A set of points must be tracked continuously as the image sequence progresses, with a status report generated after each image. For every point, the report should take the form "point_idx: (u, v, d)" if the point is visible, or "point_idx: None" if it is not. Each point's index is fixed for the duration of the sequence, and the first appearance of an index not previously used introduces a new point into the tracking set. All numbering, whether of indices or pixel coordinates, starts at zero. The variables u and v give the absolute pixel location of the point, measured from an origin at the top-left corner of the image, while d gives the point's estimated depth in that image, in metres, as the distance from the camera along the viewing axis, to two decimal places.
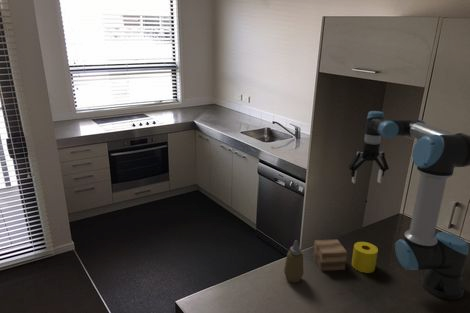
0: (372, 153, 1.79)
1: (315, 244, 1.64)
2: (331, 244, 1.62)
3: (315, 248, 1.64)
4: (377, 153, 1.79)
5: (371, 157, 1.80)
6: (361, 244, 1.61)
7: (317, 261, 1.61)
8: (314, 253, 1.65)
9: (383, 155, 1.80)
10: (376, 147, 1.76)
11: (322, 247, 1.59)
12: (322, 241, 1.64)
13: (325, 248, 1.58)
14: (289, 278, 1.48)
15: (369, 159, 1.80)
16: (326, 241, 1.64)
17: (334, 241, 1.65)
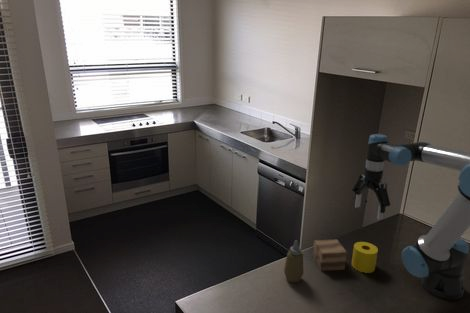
0: (371, 181, 1.60)
1: (315, 244, 1.64)
2: (330, 245, 1.62)
3: (315, 248, 1.64)
4: (376, 182, 1.58)
5: (370, 185, 1.61)
6: (361, 244, 1.61)
7: (317, 261, 1.62)
8: (314, 253, 1.66)
9: (381, 187, 1.56)
10: (369, 173, 1.58)
11: (322, 247, 1.59)
12: (322, 241, 1.65)
13: (325, 248, 1.59)
14: (289, 278, 1.48)
15: (369, 186, 1.62)
16: (325, 241, 1.64)
17: (333, 241, 1.65)
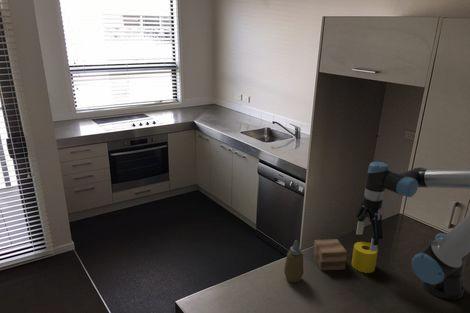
0: (369, 210, 1.53)
1: (315, 244, 1.64)
2: (331, 244, 1.62)
3: (315, 248, 1.64)
4: (372, 212, 1.51)
5: None
6: (361, 244, 1.61)
7: (317, 261, 1.62)
8: (314, 253, 1.66)
9: (375, 218, 1.48)
10: (365, 202, 1.51)
11: (322, 247, 1.60)
12: (322, 241, 1.65)
13: (325, 248, 1.59)
14: (289, 278, 1.48)
15: (367, 215, 1.55)
16: (325, 241, 1.65)
17: (334, 241, 1.65)
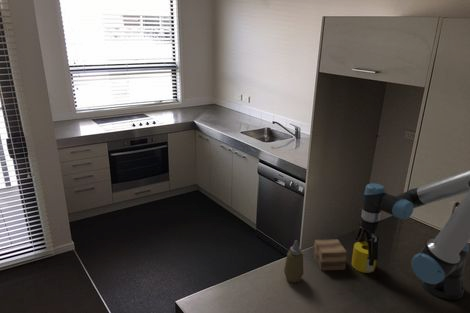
0: (366, 230, 1.56)
1: (315, 244, 1.64)
2: (331, 244, 1.62)
3: (315, 248, 1.65)
4: (369, 233, 1.53)
5: None
6: (361, 244, 1.61)
7: (317, 261, 1.62)
8: (315, 253, 1.66)
9: (372, 240, 1.51)
10: (362, 223, 1.54)
11: (322, 247, 1.60)
12: (322, 241, 1.65)
13: (325, 248, 1.59)
14: (289, 278, 1.48)
15: (364, 235, 1.58)
16: (326, 241, 1.65)
17: (334, 241, 1.65)
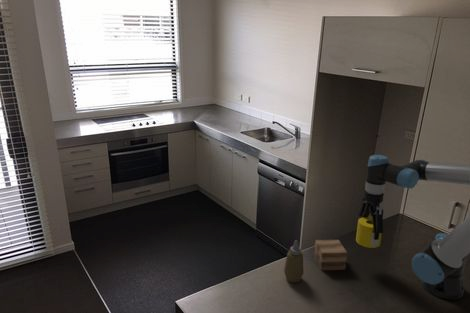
0: (370, 204, 1.52)
1: (316, 244, 1.64)
2: (331, 245, 1.62)
3: (316, 248, 1.64)
4: (373, 206, 1.49)
5: None
6: (365, 219, 1.57)
7: (318, 261, 1.62)
8: (315, 253, 1.66)
9: (376, 213, 1.47)
10: (366, 196, 1.50)
11: (322, 247, 1.59)
12: (323, 241, 1.65)
13: (326, 248, 1.59)
14: (289, 278, 1.48)
15: (368, 209, 1.54)
16: (326, 241, 1.64)
17: (335, 241, 1.65)
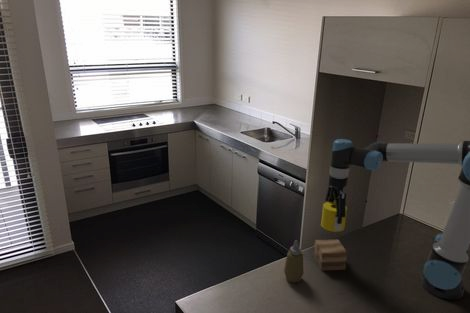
0: (335, 188, 1.52)
1: (315, 244, 1.64)
2: (331, 244, 1.62)
3: (315, 248, 1.64)
4: (337, 190, 1.50)
5: None
6: (331, 203, 1.58)
7: (318, 261, 1.62)
8: (315, 253, 1.66)
9: (339, 197, 1.47)
10: (330, 180, 1.50)
11: (322, 247, 1.59)
12: (322, 241, 1.65)
13: (326, 248, 1.59)
14: (289, 278, 1.48)
15: (333, 194, 1.54)
16: (326, 241, 1.64)
17: (335, 241, 1.65)
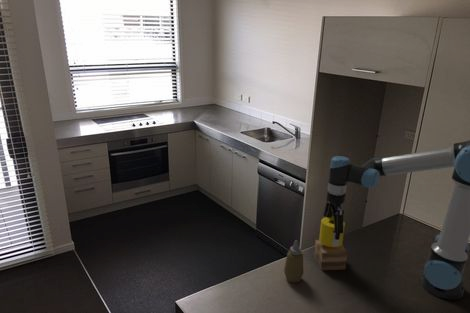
0: (333, 204, 1.54)
1: (316, 244, 1.64)
2: None
3: (316, 248, 1.65)
4: (335, 206, 1.52)
5: None
6: (329, 219, 1.60)
7: (318, 261, 1.62)
8: (315, 253, 1.66)
9: (337, 213, 1.49)
10: (328, 196, 1.52)
11: (322, 247, 1.60)
12: None
13: (326, 248, 1.59)
14: (289, 278, 1.48)
15: (331, 210, 1.56)
16: None
17: None
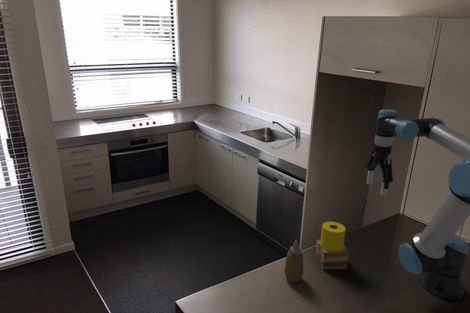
0: (379, 156, 1.60)
1: (317, 243, 1.65)
2: None
3: (317, 247, 1.65)
4: (382, 158, 1.58)
5: None
6: (329, 224, 1.61)
7: (319, 260, 1.62)
8: (316, 253, 1.66)
9: (385, 162, 1.55)
10: (375, 148, 1.59)
11: None
12: None
13: None
14: (289, 278, 1.48)
15: (377, 162, 1.62)
16: None
17: None
